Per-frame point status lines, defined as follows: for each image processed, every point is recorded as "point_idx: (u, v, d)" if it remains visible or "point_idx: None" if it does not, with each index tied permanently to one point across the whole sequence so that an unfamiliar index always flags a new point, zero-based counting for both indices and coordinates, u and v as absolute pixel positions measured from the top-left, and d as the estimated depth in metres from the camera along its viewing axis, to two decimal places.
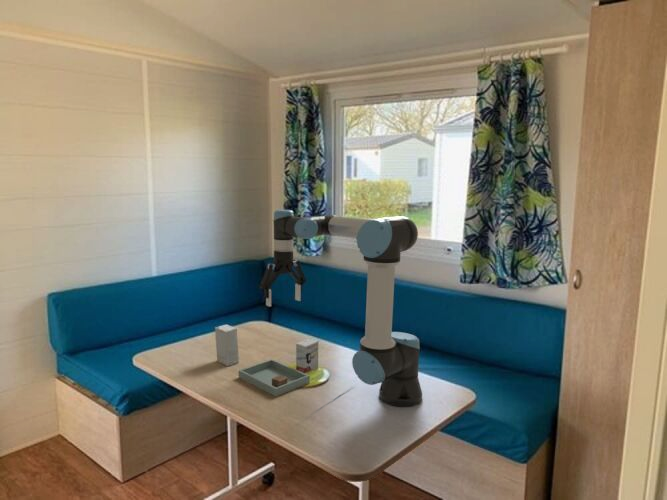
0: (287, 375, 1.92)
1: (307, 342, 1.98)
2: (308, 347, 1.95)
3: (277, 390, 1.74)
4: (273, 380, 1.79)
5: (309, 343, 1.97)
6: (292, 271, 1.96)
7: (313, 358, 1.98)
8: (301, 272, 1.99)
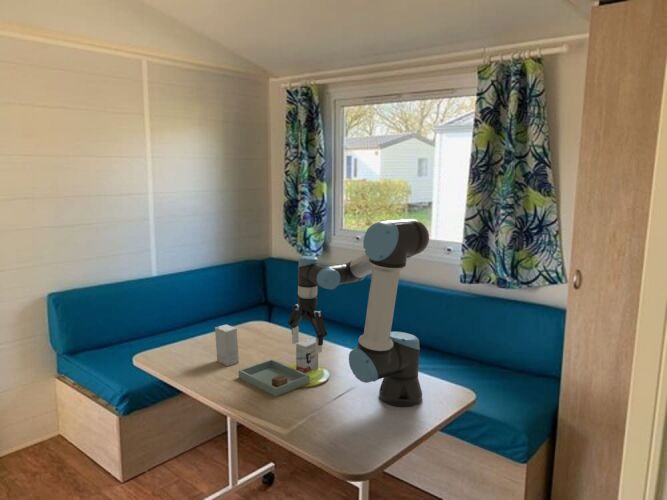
0: (287, 375, 1.92)
1: (307, 342, 1.98)
2: (308, 347, 1.95)
3: (277, 390, 1.74)
4: (273, 380, 1.79)
5: (309, 343, 1.97)
6: (309, 319, 1.93)
7: (313, 358, 1.98)
8: (318, 325, 1.90)
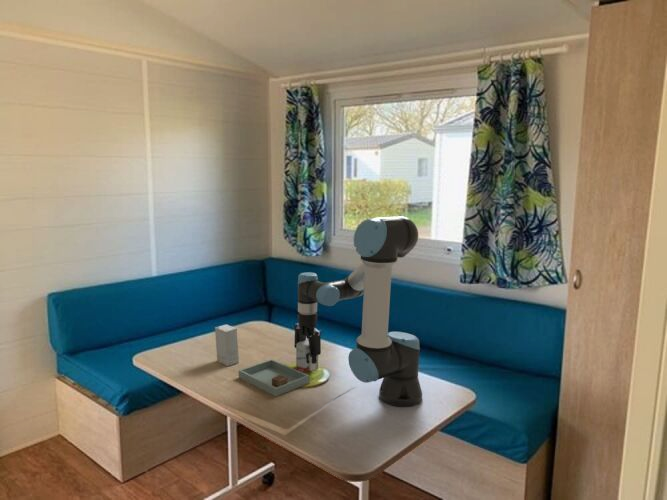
0: (287, 375, 1.92)
1: (307, 342, 1.98)
2: (308, 347, 1.95)
3: (277, 390, 1.74)
4: (273, 380, 1.79)
5: None
6: (307, 336, 1.95)
7: None
8: (315, 344, 1.93)
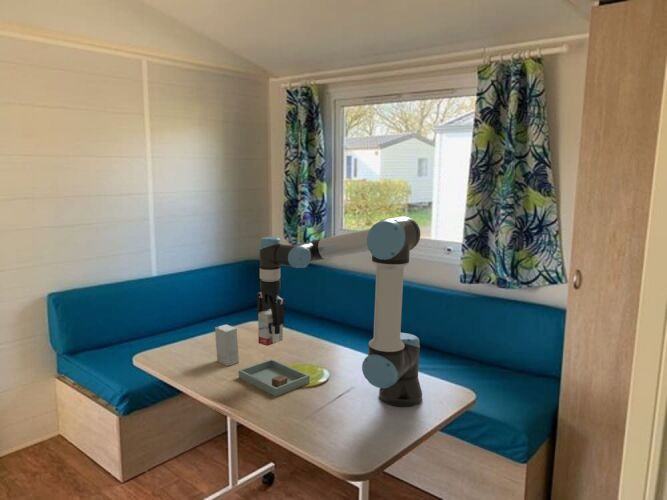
0: (287, 375, 1.92)
1: (270, 311, 1.86)
2: (271, 316, 1.83)
3: (277, 390, 1.74)
4: (273, 380, 1.79)
5: None
6: (270, 305, 1.83)
7: None
8: (277, 312, 1.81)
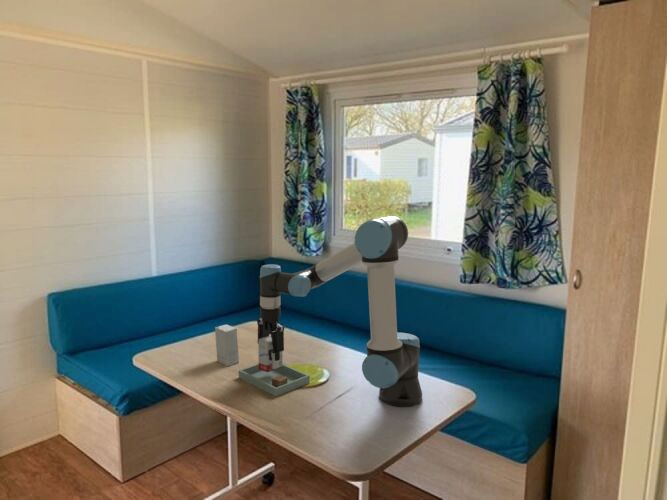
0: (287, 375, 1.92)
1: (270, 338, 1.88)
2: (271, 343, 1.85)
3: (277, 390, 1.74)
4: (273, 380, 1.79)
5: None
6: (270, 332, 1.84)
7: None
8: (277, 339, 1.83)
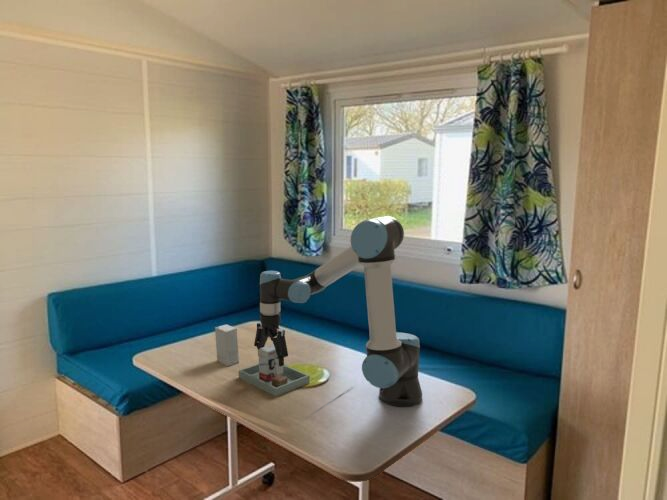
0: (287, 375, 1.92)
1: (270, 347, 1.88)
2: (271, 353, 1.85)
3: (277, 390, 1.74)
4: (273, 380, 1.79)
5: (272, 348, 1.87)
6: (271, 338, 1.84)
7: None
8: (279, 345, 1.82)
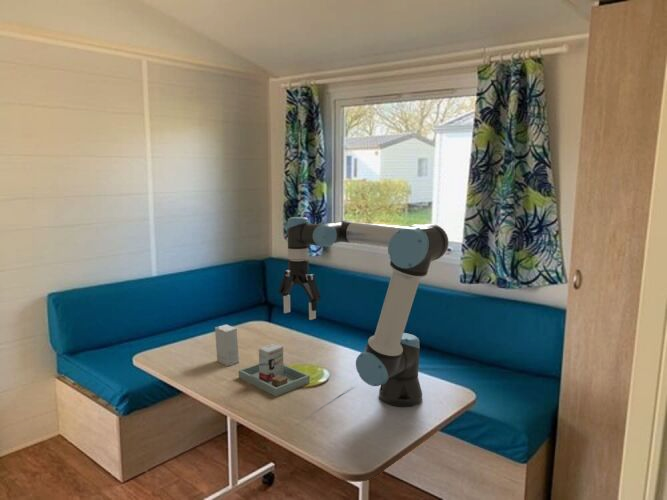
0: (287, 375, 1.92)
1: (270, 347, 1.88)
2: (271, 353, 1.85)
3: (277, 390, 1.74)
4: (273, 380, 1.79)
5: (273, 348, 1.87)
6: (301, 284, 1.81)
7: (276, 365, 1.88)
8: (311, 288, 1.79)
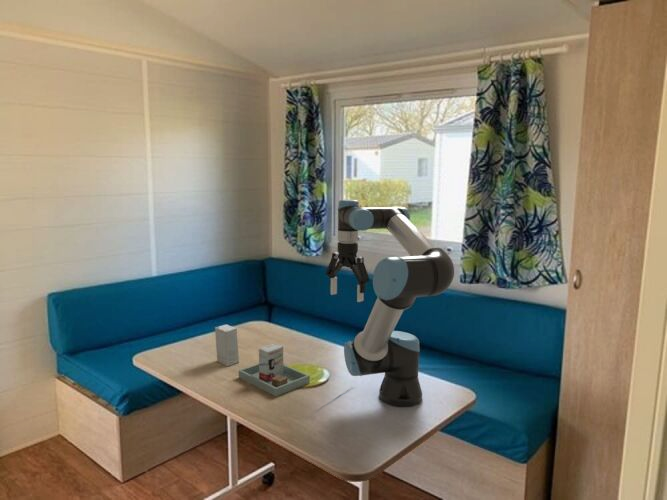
0: (287, 375, 1.92)
1: (270, 347, 1.88)
2: (271, 353, 1.85)
3: (277, 390, 1.74)
4: (273, 380, 1.79)
5: (273, 348, 1.87)
6: (350, 266, 1.83)
7: (276, 365, 1.88)
8: (360, 271, 1.80)
